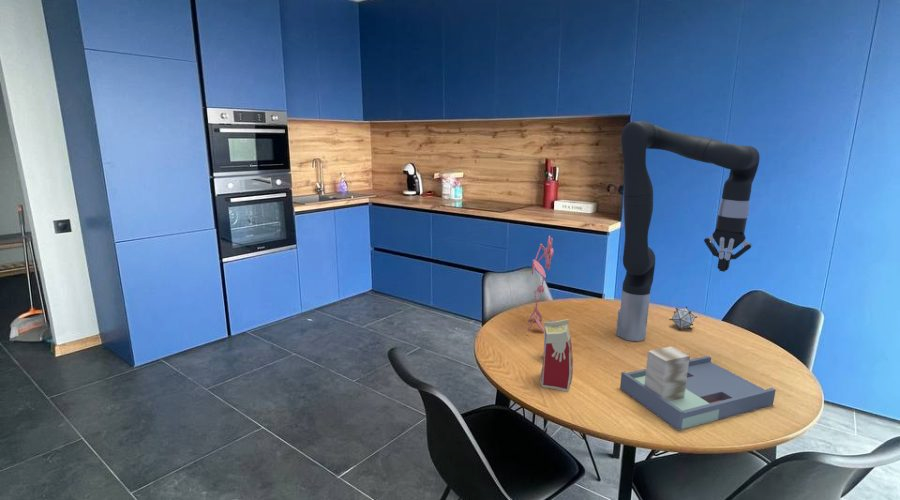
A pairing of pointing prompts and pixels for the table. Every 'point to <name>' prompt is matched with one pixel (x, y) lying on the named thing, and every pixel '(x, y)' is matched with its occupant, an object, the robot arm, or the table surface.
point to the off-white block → (667, 372)
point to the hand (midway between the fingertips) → (722, 270)
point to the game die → (683, 318)
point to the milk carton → (557, 357)
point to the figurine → (548, 255)
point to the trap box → (700, 395)
